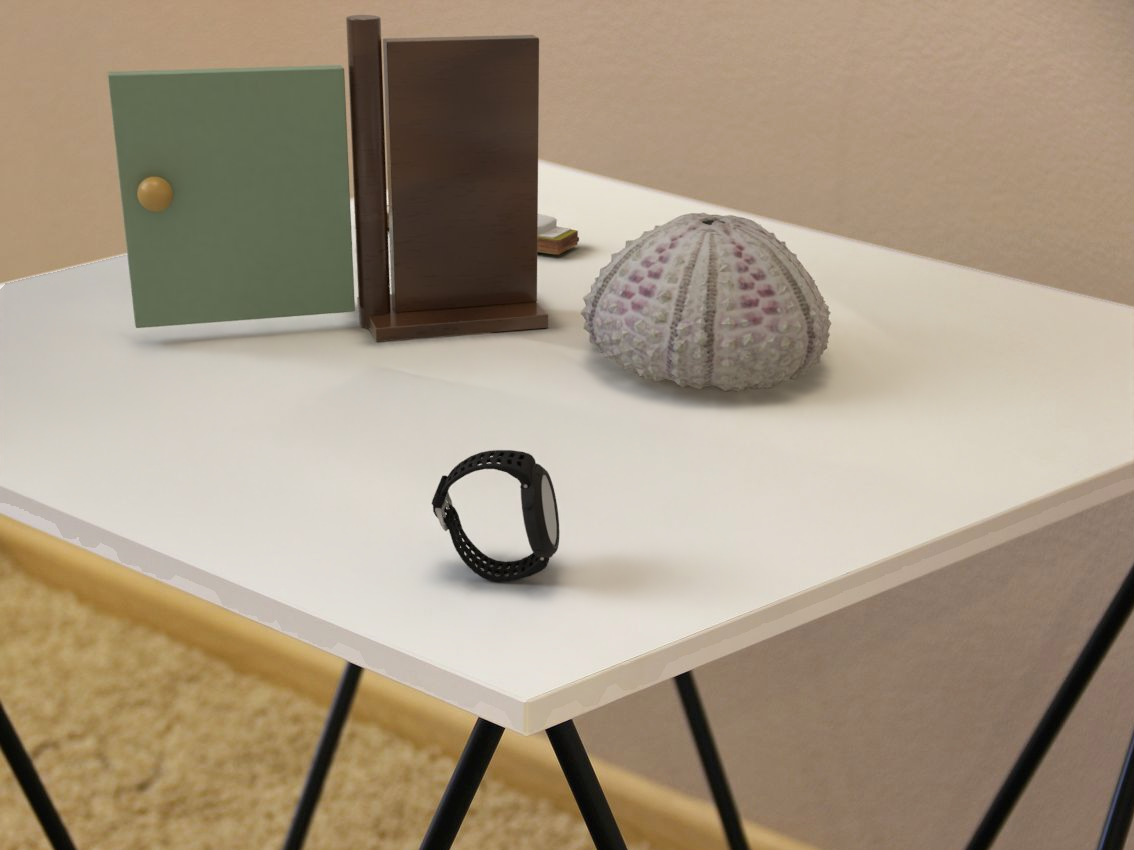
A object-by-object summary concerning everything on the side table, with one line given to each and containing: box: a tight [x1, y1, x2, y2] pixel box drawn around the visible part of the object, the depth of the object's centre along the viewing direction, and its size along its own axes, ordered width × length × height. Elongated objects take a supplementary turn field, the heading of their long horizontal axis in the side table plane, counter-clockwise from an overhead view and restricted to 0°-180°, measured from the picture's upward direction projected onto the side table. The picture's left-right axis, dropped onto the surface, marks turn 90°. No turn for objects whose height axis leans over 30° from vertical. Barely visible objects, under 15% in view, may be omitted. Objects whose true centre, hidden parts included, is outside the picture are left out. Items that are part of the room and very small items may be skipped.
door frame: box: [345, 14, 549, 342], centre depth 85 cm, size 10×6×17 cm, turn 108°
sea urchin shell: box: [580, 212, 832, 393], centre depth 81 cm, size 13×14×8 cm
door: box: [107, 64, 356, 329], centre depth 81 cm, size 12×3×14 cm, turn 108°
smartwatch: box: [431, 449, 560, 583], centre depth 60 cm, size 4×5×5 cm
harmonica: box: [387, 204, 580, 255], centre depth 104 cm, size 15×3×2 cm, turn 64°
